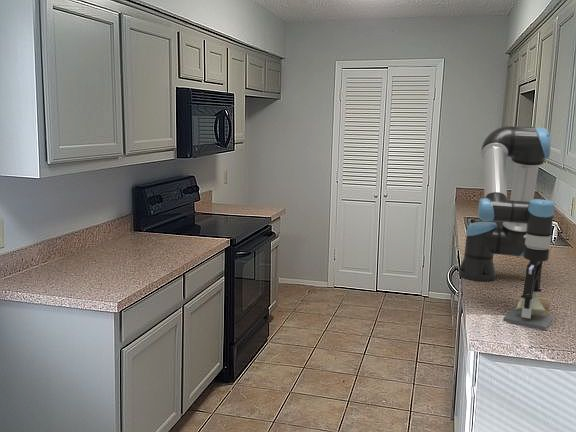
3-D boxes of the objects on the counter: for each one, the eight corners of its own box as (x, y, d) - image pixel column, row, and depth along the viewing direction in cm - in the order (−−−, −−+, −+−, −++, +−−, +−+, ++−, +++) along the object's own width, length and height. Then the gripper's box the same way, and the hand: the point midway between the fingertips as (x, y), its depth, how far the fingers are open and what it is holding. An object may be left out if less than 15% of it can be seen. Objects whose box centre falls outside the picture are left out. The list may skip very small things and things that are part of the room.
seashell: (508, 303, 193) (523, 290, 195) (522, 325, 192) (538, 311, 195) (523, 301, 185) (539, 288, 188) (538, 323, 184) (554, 310, 187)
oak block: (530, 310, 202) (532, 296, 201) (546, 312, 200) (547, 298, 199) (532, 314, 197) (533, 300, 196) (547, 316, 196) (549, 302, 195)
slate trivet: (512, 311, 199) (512, 308, 199) (552, 319, 192) (553, 316, 192) (503, 321, 189) (503, 317, 188) (545, 330, 182) (546, 327, 181)
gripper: (531, 240, 197) (523, 303, 201) (517, 250, 179) (509, 319, 183) (554, 243, 193) (546, 308, 197) (543, 254, 175) (534, 325, 179)
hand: (528, 313), depth 190 cm, fingers closed on seashell, 8 cm apart
